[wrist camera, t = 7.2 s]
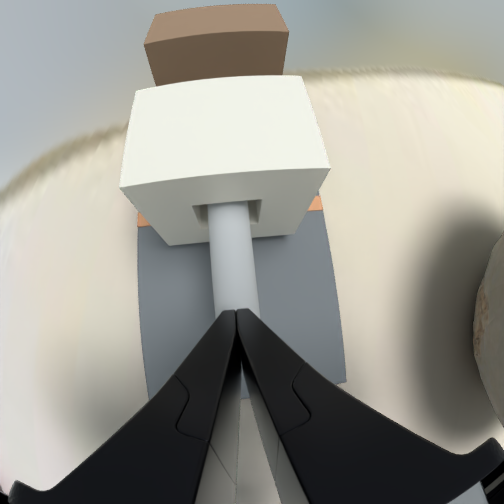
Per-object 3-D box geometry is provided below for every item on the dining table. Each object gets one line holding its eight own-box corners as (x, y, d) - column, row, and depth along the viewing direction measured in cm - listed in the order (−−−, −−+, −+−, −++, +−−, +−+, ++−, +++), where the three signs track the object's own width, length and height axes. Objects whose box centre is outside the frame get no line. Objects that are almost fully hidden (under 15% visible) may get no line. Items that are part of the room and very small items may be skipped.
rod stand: (342, 379, 15) (440, 425, 6) (153, 398, 15) (67, 461, 5) (291, 99, 21) (311, 2, 11) (152, 111, 20) (120, 18, 11)
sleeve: (294, 234, 16) (330, 168, 9) (168, 245, 15) (119, 187, 8) (281, 160, 17) (301, 76, 10) (169, 171, 17) (136, 90, 10)
